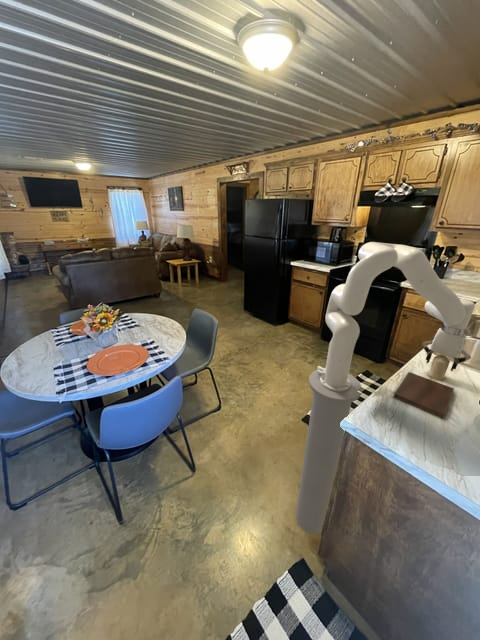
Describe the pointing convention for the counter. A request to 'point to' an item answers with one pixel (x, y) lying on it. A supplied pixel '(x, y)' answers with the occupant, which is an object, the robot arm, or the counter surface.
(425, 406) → the walnut board
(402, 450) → the counter surface
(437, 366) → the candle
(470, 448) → the counter surface
